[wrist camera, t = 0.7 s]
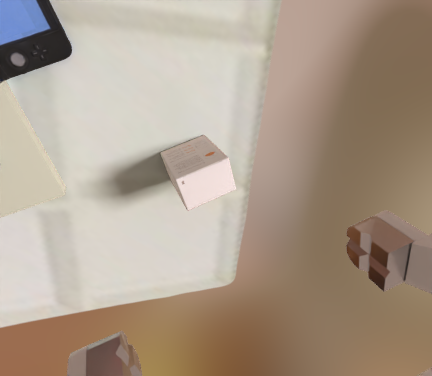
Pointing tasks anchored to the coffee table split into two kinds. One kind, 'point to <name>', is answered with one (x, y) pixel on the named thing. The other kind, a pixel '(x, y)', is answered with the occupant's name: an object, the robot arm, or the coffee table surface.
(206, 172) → the small box
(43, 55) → the handheld game console
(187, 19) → the coffee table surface
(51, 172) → the beige flat block
